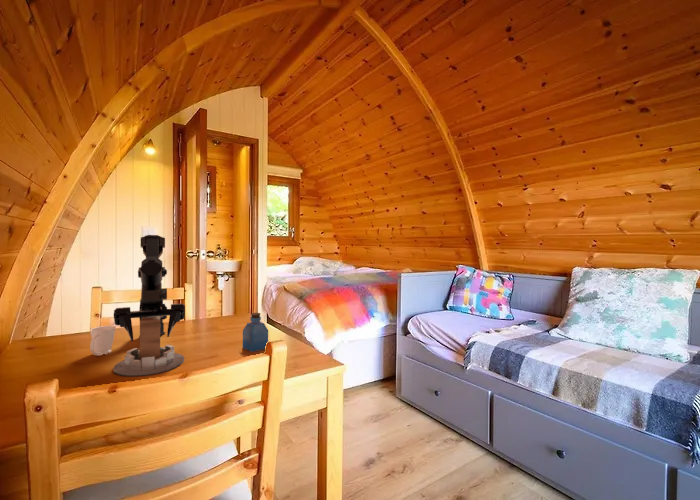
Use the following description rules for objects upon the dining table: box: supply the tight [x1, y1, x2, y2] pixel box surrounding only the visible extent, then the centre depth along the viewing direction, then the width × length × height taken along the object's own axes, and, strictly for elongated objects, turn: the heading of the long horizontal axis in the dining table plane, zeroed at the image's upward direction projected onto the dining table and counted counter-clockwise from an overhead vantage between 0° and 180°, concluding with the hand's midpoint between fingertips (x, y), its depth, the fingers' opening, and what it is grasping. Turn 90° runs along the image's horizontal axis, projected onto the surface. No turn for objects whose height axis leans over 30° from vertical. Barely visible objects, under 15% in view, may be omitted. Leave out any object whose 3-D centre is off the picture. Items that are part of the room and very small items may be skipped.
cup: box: [89, 325, 117, 357], centre depth 107 cm, size 7×10×8 cm
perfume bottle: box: [242, 312, 269, 353], centre depth 116 cm, size 6×6×12 cm
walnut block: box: [139, 316, 161, 360], centre depth 99 cm, size 5×5×13 cm
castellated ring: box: [113, 344, 185, 378], centre depth 99 cm, size 18×18×4 cm
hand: (150, 338), depth 99 cm, fingers open, 9 cm apart
